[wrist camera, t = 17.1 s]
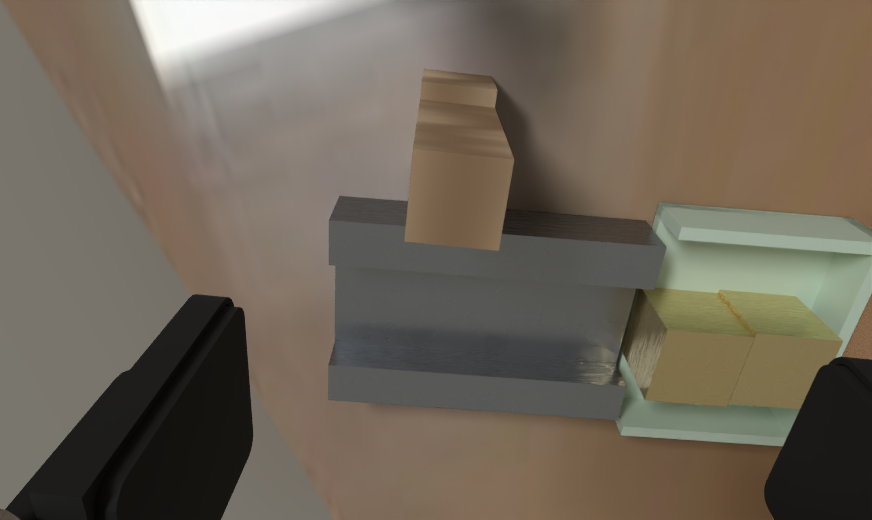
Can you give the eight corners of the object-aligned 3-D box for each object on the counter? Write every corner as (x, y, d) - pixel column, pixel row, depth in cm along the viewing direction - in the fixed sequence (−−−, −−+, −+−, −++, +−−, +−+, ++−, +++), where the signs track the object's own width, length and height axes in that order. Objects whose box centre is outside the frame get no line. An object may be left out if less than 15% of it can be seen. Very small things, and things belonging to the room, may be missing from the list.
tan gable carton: (491, 76, 26) (518, 136, 17) (477, 172, 28) (495, 270, 19) (423, 69, 26) (415, 125, 17) (414, 165, 28) (402, 261, 19)
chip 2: (795, 296, 30) (843, 340, 27) (768, 360, 32) (810, 410, 28) (719, 289, 30) (756, 333, 27) (696, 353, 32) (728, 403, 28)
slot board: (645, 220, 29) (666, 246, 26) (603, 383, 34) (617, 420, 31) (339, 196, 29) (329, 220, 26) (337, 364, 33) (328, 399, 30)
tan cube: (717, 293, 30) (755, 337, 27) (694, 357, 32) (726, 406, 28) (640, 286, 30) (667, 329, 26) (621, 350, 32) (644, 400, 28)
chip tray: (852, 218, 29) (894, 244, 26) (770, 409, 34) (798, 447, 32) (658, 202, 29) (681, 227, 26) (606, 397, 34) (620, 435, 31)
